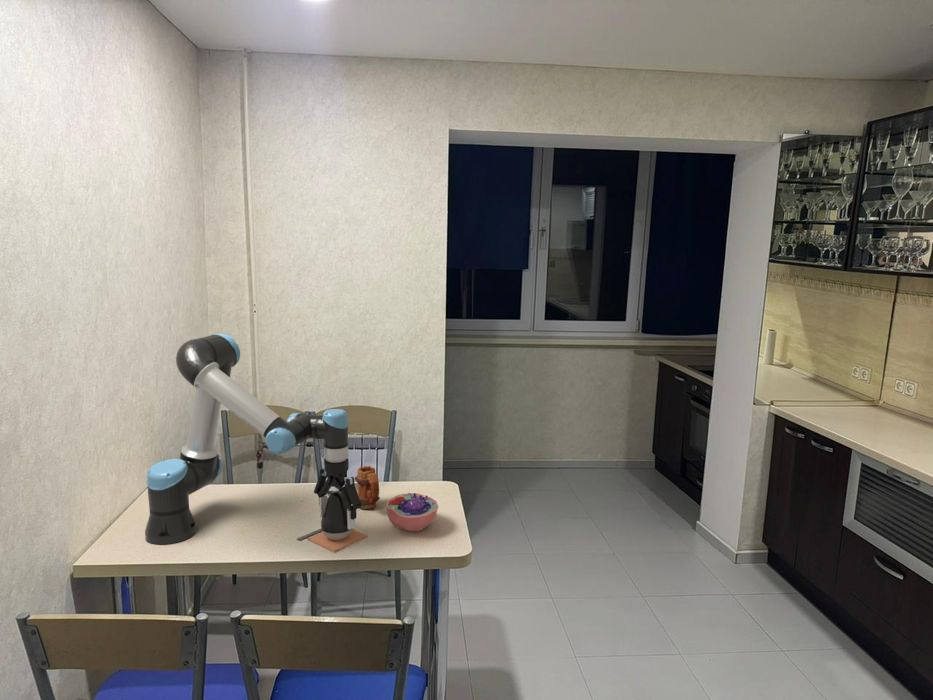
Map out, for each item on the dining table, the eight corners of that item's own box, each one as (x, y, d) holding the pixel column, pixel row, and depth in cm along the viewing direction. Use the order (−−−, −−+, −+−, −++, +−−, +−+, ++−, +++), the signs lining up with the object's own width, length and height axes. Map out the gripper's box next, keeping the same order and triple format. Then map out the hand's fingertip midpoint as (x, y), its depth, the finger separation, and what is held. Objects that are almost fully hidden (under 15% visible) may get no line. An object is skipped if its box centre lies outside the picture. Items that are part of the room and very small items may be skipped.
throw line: (297, 539, 209) (296, 538, 209) (340, 521, 223) (340, 520, 223) (299, 541, 208) (299, 539, 208) (343, 522, 222) (343, 521, 222)
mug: (352, 503, 238) (351, 464, 235) (373, 500, 241) (373, 461, 239) (365, 519, 225) (364, 478, 222) (387, 515, 229) (387, 474, 226)
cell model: (428, 512, 232) (428, 481, 230) (443, 537, 213) (444, 504, 211) (381, 517, 227) (380, 486, 225) (392, 543, 208) (392, 510, 206)
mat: (307, 540, 209) (307, 538, 209) (341, 525, 220) (341, 523, 220) (334, 552, 201) (334, 551, 201) (367, 537, 212) (367, 535, 212)
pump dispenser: (352, 543, 206) (351, 498, 203) (319, 544, 205) (317, 498, 202) (355, 529, 216) (355, 485, 213) (323, 529, 215) (322, 486, 212)
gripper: (372, 464, 201) (372, 529, 205) (320, 447, 216) (321, 507, 220) (353, 471, 195) (354, 537, 199) (301, 452, 211) (303, 514, 214)
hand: (337, 521), depth 210 cm, fingers open, 13 cm apart
